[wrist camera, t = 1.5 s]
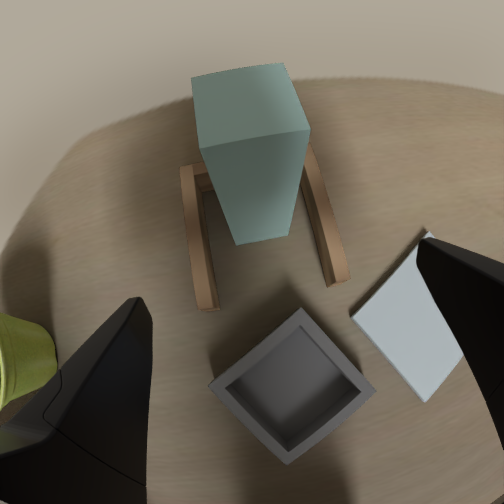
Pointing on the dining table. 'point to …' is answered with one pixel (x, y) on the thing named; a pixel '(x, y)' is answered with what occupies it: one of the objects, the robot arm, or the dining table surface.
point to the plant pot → (24, 358)
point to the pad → (410, 328)
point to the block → (252, 146)
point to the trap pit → (292, 387)
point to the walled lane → (197, 236)
